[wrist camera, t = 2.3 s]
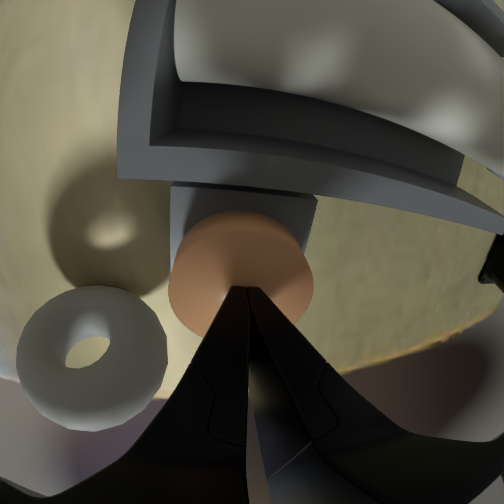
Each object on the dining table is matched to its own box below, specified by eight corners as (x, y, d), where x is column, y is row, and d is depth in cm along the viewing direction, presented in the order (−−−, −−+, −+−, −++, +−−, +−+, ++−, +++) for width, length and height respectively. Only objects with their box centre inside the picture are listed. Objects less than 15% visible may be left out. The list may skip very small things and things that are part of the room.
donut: (62, 309, 17) (15, 415, 8) (47, 273, 15) (-18, 382, 7) (180, 315, 18) (167, 454, 10) (174, 275, 16) (148, 432, 8)
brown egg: (288, 180, 12) (330, 239, 7) (272, 262, 14) (294, 344, 9) (190, 171, 11) (165, 225, 7) (186, 256, 13) (172, 340, 9)
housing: (469, 43, 9) (533, 48, 4) (417, 260, 18) (462, 312, 13) (195, -52, 6) (183, -113, 1) (159, 242, 15) (133, 315, 10)
